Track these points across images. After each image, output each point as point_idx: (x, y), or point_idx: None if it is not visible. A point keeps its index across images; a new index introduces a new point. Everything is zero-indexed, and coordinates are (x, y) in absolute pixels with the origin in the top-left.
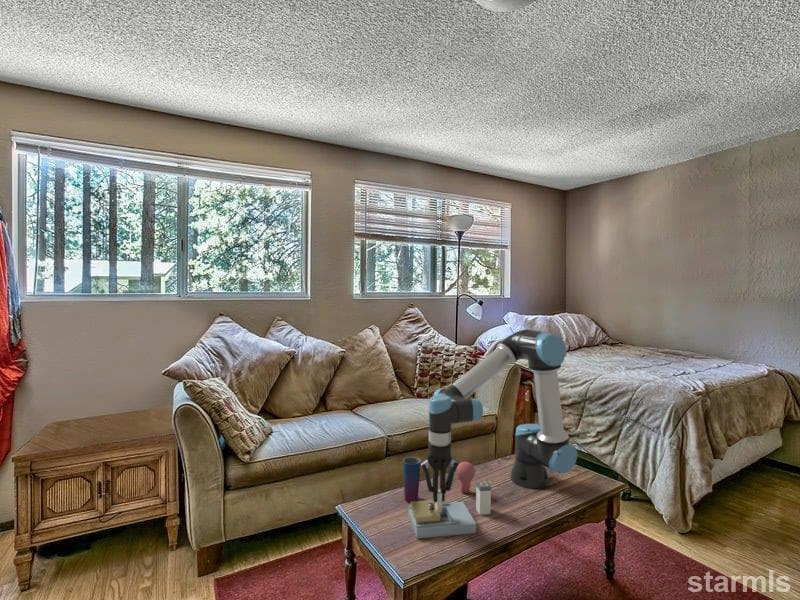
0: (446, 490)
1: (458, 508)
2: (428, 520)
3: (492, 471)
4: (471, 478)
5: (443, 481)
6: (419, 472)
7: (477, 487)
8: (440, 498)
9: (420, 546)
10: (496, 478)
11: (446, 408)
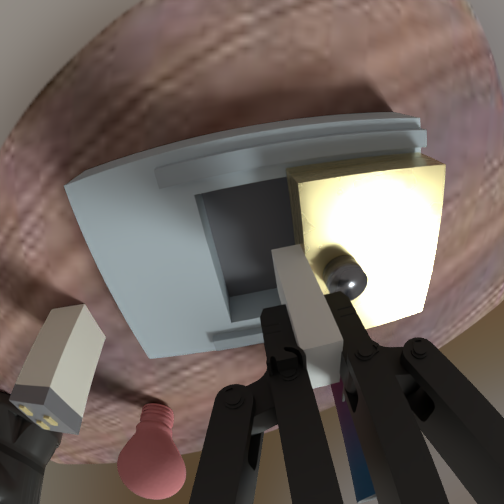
0: (253, 386)
1: (165, 315)
2: (368, 164)
3: (105, 448)
4: (127, 446)
5: (313, 469)
6: (357, 456)
7: (72, 409)
8: (305, 313)
9: (382, 52)
10: (88, 432)
11: None
